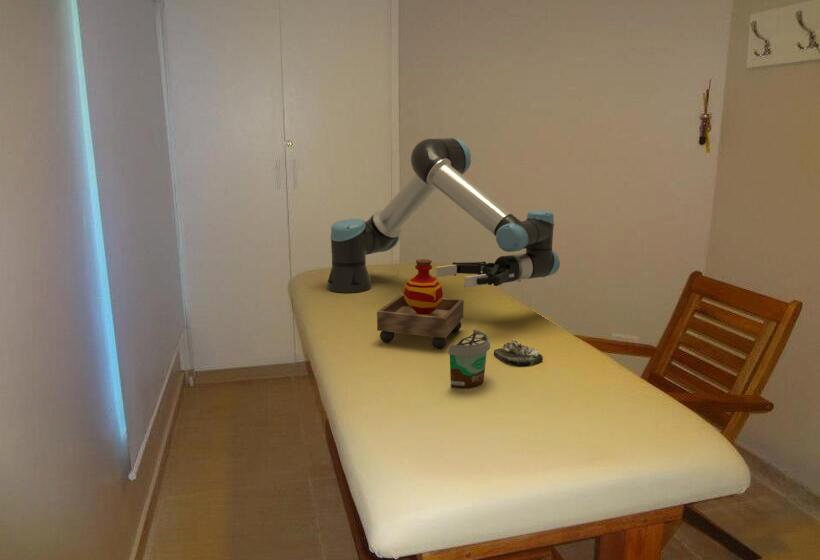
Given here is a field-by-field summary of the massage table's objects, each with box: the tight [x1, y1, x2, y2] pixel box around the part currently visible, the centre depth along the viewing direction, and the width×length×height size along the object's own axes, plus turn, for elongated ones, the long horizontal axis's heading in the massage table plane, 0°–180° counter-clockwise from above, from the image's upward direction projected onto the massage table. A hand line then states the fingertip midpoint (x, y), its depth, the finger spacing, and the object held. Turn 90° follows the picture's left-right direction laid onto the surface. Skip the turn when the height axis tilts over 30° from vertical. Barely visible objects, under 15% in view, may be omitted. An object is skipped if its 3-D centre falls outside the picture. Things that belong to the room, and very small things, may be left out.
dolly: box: [376, 293, 465, 350], centre depth 158 cm, size 18×18×9 cm
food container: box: [447, 329, 491, 390], centre depth 129 cm, size 12×6×10 cm, turn 148°
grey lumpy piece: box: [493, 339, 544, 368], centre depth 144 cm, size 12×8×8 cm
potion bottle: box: [402, 258, 444, 316], centre depth 156 cm, size 10×10×15 cm
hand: (450, 277), depth 160 cm, fingers open, 13 cm apart
